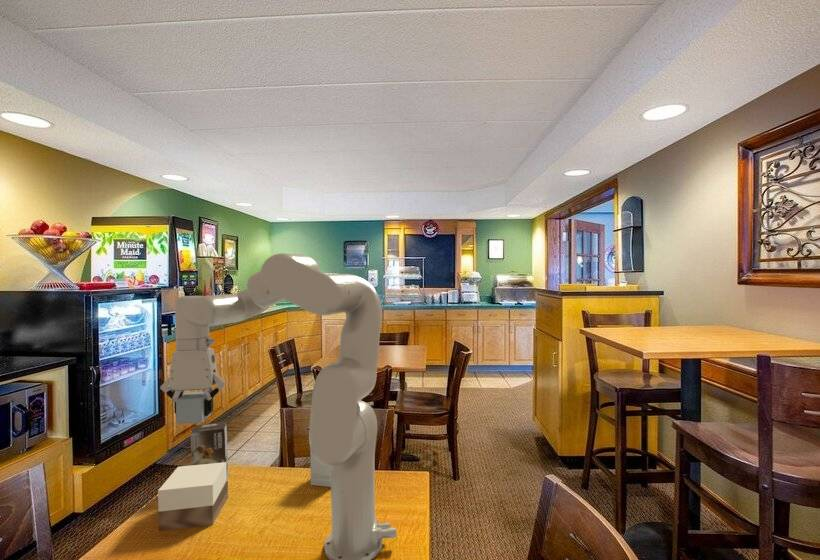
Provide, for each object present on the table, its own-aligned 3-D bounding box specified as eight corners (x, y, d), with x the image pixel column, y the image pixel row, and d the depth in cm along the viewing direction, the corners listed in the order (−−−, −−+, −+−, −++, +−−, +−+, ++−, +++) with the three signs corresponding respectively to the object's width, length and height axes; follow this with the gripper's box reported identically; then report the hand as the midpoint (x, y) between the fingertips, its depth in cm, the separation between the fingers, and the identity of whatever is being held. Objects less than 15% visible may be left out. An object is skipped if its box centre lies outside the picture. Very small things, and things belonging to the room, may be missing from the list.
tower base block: (228, 498, 107) (227, 480, 107) (212, 526, 95) (212, 505, 95) (180, 503, 105) (180, 484, 105) (158, 532, 93) (158, 510, 93)
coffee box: (229, 473, 120) (228, 420, 120) (226, 483, 114) (225, 428, 114) (195, 478, 117) (194, 424, 117) (191, 489, 111) (190, 432, 111)
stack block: (211, 414, 104) (210, 391, 104) (202, 422, 98) (201, 398, 98) (186, 415, 103) (186, 392, 103) (176, 424, 97) (175, 399, 97)
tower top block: (226, 480, 107) (226, 462, 107) (213, 505, 95) (212, 484, 95) (178, 485, 105) (177, 466, 105) (158, 511, 93) (158, 490, 93)
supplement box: (334, 487, 111) (333, 443, 111) (309, 485, 113) (309, 441, 113) (343, 475, 118) (343, 433, 118) (320, 472, 120) (320, 431, 120)
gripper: (233, 340, 105) (234, 408, 105) (163, 343, 103) (164, 412, 103) (223, 345, 97) (225, 418, 98) (148, 348, 95) (149, 422, 95)
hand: (194, 414), depth 100 cm, fingers closed on stack block, 6 cm apart
